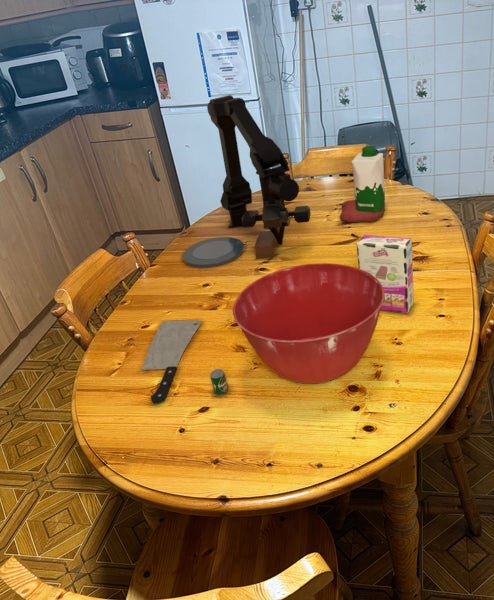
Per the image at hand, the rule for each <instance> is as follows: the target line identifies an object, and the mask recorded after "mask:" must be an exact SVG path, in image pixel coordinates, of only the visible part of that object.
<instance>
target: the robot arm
mask: <svg viewBox="0 0 494 600" xmlns="http://www.w3.org/2000/svg"><path fill="white" fill-rule="evenodd" d="M206 110H207V113H208V116H209V118H210V121H211V122H212V123H213V124H214V126H215V127H216V128H217V130H218V134H219V142H220V146H221V153H222V158H223V164H224V170H225V178H224V181H223V183H222V191H223V192H222V194H221V197H220V205H221V207H222V208H223V209H224V210H226V211H228V214H229V218H230V223H229V224H228V228H229V229H230V228H254V227H255V225H256V224H257V222H262V223H263V224H262V225H263V226H262V227H263V229H267V230H268V231H271V232H272V233H273V235H274V237H275V238H276V240H277V242H278V245H279V246H282V245H283V241H284V236H285V230H286V227H289V226H290V225H291V220H292V219H293V220H294V221H295V222H296V223H297V224H303V223H309V222H310V220H311V215H312V214H311V213H312V212H311V208H310V206H308V205H299V206H295V208H294V210H291V211H289V210H288V208H287V207H286V204H285V202H292V201H294V200H295V199H296V198H297V197H298V195H299V192H300V186H299V184H298V182H297V181H296V180H294V179H293V178H291V174H290V173H287V172H290V171H291V169H290V167H289V162H288V160H287V158H286V157H285V155H284V153H283V152H282V149H281V147H279V146H278V145H277V143H276V142H275V141H274V140H273V139H272V138H271V137H269V136H266V135H265V134H264V133H263V131H262V130H261V128H260V127H259V125H258V124H257V122H256V121H255V119H254V117H253V116H252V114H251V113H250V112H249V111H250V110H248V108H247V106H246V101H245V100H244V99H243V98H241V97H234V96H233V95H231V94H228V95H224V96H220V97H215V98H210V100H209V102H208V103H207V105H206ZM236 128H237V129H238V132H240V134H241V136H242V137H243V139H244V141H245V142H246V144H247V145H248V147H249V158H250V162H251V165H252V166H253V167H254V169H255V174H256V175H258V179H259V185H260V190H261V196H262V213H259V210H258V209H254V210H253V209H252V210H248V208H247V205H251V204H252V201H253V190H252V188H251V184H250V182H249V181H248V180H247V179H246V178H245V177H244V175H243V172H242V165H241V160H240V159H241V158H240V152H239V146H238V140H237V132H236Z"/></svg>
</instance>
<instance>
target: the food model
mask: <svg viewBox="0 0 494 600" xmlns="http://www.w3.org/2000/svg"><path fill="white" fill-rule="evenodd" d="M341 208H342V209H341V211H342V212H341V213H340V215H339V218H340V220H341V221H343V222H346V223H361V222H364V223H365V222H366V223H372V222H376V221H378V220H380V219H381V218H382V217H383V216H384V215H385V214H384V212H385V207H384V208H383V209H382V210H381V211H380V212H377V213H374V212H362V211H357V210H356V203H355V199H350V200H345V201H343V202H342V203H341Z"/></svg>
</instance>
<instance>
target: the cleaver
mask: <svg viewBox="0 0 494 600" xmlns="http://www.w3.org/2000/svg"><path fill="white" fill-rule="evenodd" d="M201 326H202V322H201V321H200V320H199V319H177V320H164V321H161V323H160V325H159V327H158V329H157V331H156V333H155V334H154V337H153V338H152V341H151V344H150V346H149V348H148V350H147V353H146V356H145V358H144V362H143V364H142V367H141V370H142V371H152V370H153V371H155V370H165V371H164V374H163V376H162V379H161V381H160V383H159V386H158V387H157V389H156V391H155V392H154V393H153V394H152V395H150V400H151V402H152V403H153V404H161V403H163V401H165V400H166V398H167V395H168V394H169V390H170V387H171V385H172V382H173V380H174V377H175V375H176V373H177V369H178V366H179V363H180V361H181V359H182V356H183V355H184V353H185V351H186V349H187V347H188V345H189V344H190V343H191V340H192V339H193V338H194V336H195V334H196V333H197V331H198V330H199V328H200V327H201Z"/></svg>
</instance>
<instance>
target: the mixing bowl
mask: <svg viewBox="0 0 494 600" xmlns="http://www.w3.org/2000/svg"><path fill="white" fill-rule="evenodd" d="M383 301H384V289H383V286H382V284H381V283H380V282H379V280H378V279H377V278H376V277H374V276H373V275H372V274H370V273H368V272H366V271H364V270H362V269H359V267H356V266H352V265H348V264H341V263H333V262H332V263H330V262H329V263H328V262H323V263H322V262H321V263H320V262H319V263H306V264H299V265H294V266H288V267H285V268H282V269H278V270H275V271H273V272H270V273H268V274H265V275H263V276H261V277H260V278H257V279H256V280H255V281H252V282H251V283H250V284H248V285H247V286H246V287H244V289H243V290H242V291H241V292H239V294H238V296H237V297H236V299H235V301H234V303H233V305H232V306H233V307H232V316H233V319H234V321H235V322H236V324H237V325H238V327H239V328H240V329H241V331H242V333H243V335H244V337H245V338H246V340H247V342H248V343H249V345H250V346H251V348H252V349H253V350H254V352H255V353H256V354H257V355H258V357H259V358H260V359H261V360H262V361H263V363H264V364H265V365H266V366H268V368H269V369H270V370H272V371H273V372H274V373H276V375H279V376H280V377H282V378H284V379H287V380H288V381H292V382H295V383H299V384H320V383H325V382H329V381H332V380H335V379H338V378H339V377H342V376H344V375H346V374H347V373H348V372H350V371H351V370H352V369H353V368H355V366H356V365H357V364H358V363H359V362H360V361H361V359H362V358H363V356H364V354H365V352H366V351H367V348H368V346H369V345H370V343H371V340H372V338H373V335H374V333H375V330H376V327H377V324H378V321H379V316H380V312H381V310H380V308H381V305H382V303H383Z"/></svg>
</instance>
